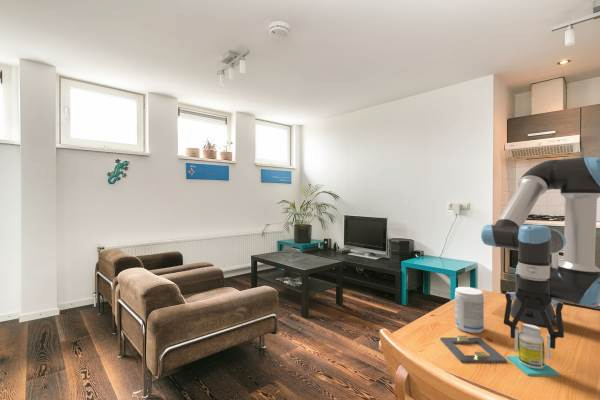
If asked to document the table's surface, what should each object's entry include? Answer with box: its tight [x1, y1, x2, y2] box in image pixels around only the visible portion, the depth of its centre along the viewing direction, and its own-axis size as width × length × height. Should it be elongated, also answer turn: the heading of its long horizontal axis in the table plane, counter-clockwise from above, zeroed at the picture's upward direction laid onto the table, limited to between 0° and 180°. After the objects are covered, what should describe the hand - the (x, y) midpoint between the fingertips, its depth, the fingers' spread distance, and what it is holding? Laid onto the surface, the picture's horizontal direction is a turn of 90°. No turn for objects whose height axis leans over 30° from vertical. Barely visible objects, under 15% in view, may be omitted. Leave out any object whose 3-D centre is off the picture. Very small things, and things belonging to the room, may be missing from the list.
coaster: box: [505, 355, 561, 377], centre depth 90 cm, size 9×9×1 cm
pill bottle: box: [518, 323, 546, 369], centre depth 90 cm, size 6×6×11 cm
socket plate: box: [439, 335, 508, 363], centre depth 99 cm, size 14×14×2 cm
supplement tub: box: [454, 286, 485, 334], centre depth 115 cm, size 10×10×15 cm
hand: (531, 353), depth 90 cm, fingers open, 7 cm apart
